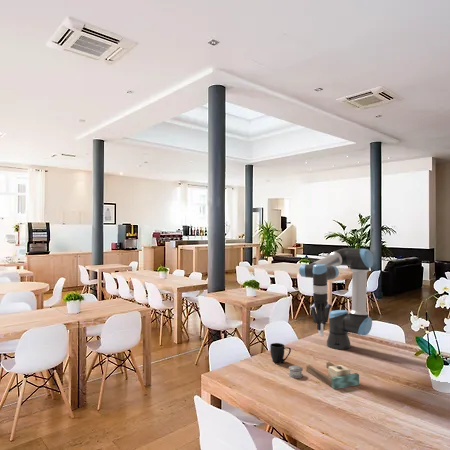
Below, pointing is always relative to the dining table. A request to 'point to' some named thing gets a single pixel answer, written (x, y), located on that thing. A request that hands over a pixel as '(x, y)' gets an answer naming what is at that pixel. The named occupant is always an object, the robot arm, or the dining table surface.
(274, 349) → the mug
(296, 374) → the gray yo-yo
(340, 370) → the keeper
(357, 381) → the channel
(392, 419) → the dining table surface
